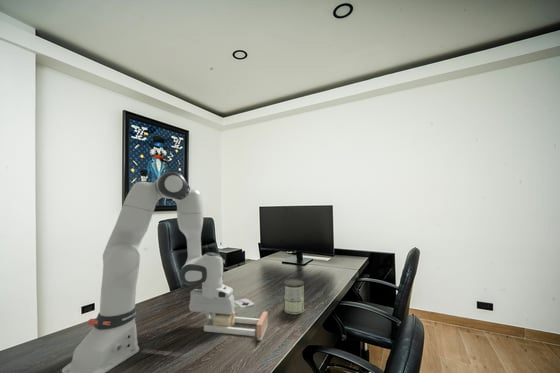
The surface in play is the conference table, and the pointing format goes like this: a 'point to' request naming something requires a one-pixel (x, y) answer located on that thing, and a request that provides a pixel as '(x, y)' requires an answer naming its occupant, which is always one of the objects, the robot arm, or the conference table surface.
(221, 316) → the block
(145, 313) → the conference table surface
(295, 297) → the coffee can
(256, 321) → the rail
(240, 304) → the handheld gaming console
